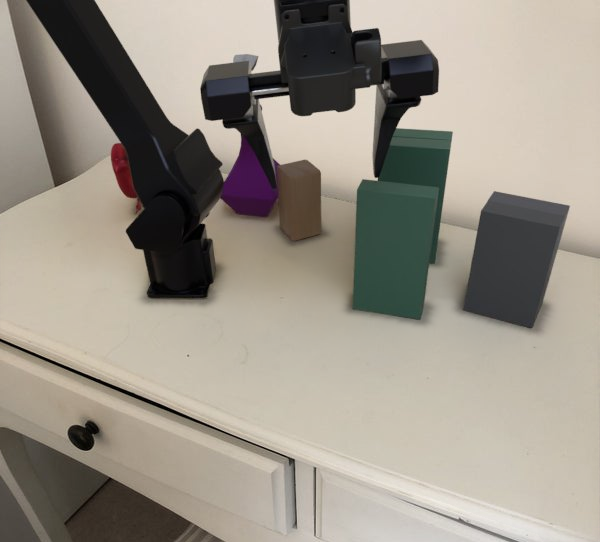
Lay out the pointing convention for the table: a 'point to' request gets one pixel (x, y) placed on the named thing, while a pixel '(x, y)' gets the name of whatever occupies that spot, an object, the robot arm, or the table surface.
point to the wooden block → (299, 199)
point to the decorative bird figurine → (123, 172)
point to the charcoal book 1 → (511, 262)
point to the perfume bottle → (249, 176)
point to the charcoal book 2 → (534, 205)
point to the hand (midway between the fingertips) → (325, 181)
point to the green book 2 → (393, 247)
